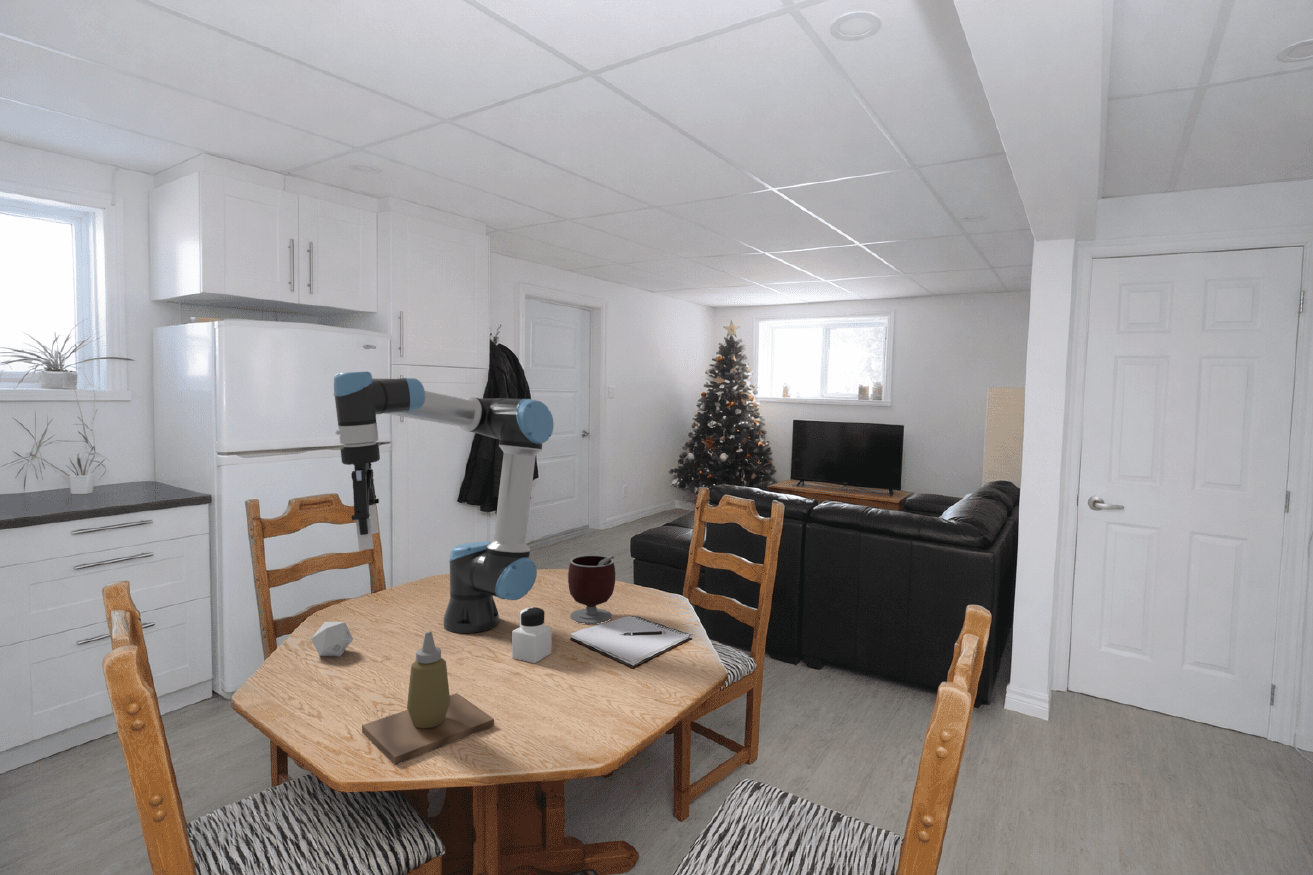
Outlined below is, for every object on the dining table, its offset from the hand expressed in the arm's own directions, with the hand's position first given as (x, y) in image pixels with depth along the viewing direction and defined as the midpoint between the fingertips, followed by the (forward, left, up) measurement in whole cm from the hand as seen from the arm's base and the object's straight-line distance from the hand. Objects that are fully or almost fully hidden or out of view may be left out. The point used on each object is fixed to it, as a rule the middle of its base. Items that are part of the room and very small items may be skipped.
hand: (369, 540), depth 142 cm
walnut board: (-2, +25, -33) cm, 41 cm away
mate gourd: (-66, -2, -34) cm, 74 cm away
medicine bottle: (-37, +9, -34) cm, 51 cm away
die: (-1, -25, -34) cm, 42 cm away
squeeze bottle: (-2, +24, -32) cm, 40 cm away
